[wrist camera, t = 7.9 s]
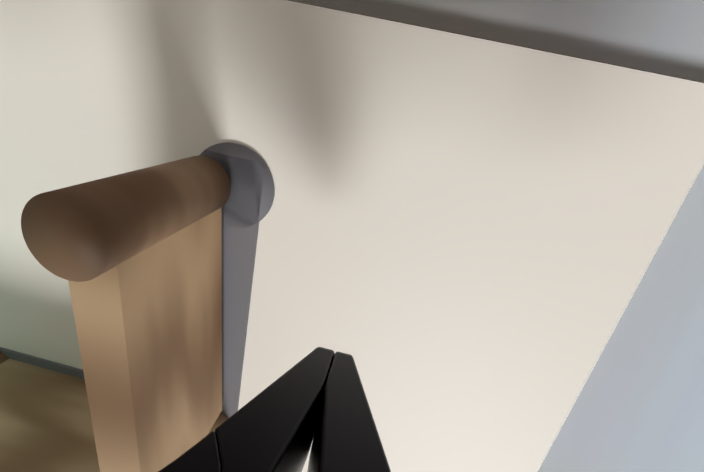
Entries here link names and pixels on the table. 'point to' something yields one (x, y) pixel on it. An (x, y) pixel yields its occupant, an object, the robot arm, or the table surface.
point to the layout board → (361, 200)
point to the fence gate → (142, 302)
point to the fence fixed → (46, 421)
